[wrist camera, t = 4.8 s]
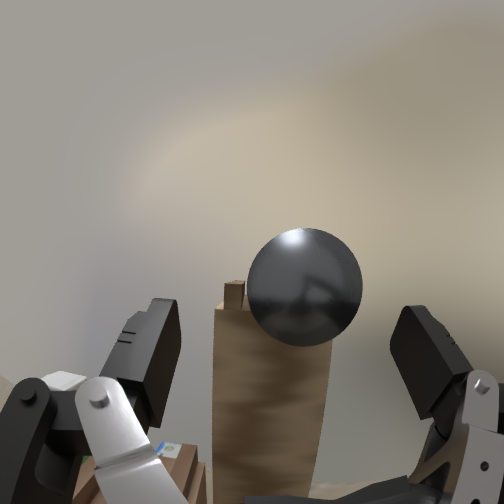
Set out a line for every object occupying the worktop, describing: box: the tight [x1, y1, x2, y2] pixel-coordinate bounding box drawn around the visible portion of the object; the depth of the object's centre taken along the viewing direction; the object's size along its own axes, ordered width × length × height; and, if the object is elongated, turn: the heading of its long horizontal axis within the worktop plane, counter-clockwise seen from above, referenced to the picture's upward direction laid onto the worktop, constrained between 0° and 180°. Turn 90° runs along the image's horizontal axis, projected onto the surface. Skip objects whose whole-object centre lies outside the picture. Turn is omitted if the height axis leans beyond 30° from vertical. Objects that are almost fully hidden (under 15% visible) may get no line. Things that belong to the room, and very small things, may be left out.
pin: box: [247, 228, 363, 347], centre depth 20 cm, size 3×23×3 cm, turn 1°
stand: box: [212, 280, 332, 504], centre depth 23 cm, size 7×15×34 cm, turn 1°
